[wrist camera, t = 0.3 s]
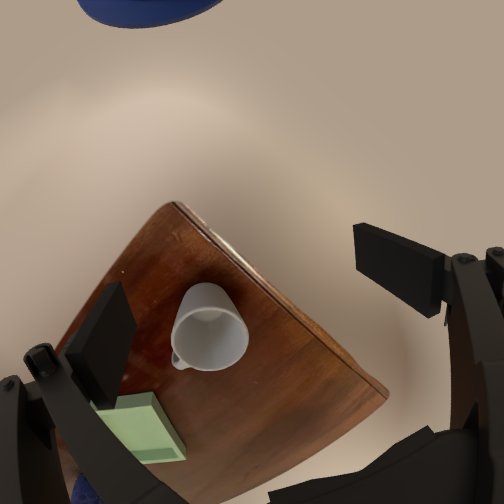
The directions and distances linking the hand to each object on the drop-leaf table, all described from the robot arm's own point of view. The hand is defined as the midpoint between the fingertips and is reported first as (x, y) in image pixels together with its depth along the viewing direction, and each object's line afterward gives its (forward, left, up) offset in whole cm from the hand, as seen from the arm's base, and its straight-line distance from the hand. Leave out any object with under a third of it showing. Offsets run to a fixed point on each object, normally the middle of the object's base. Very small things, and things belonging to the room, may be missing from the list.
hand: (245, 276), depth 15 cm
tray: (+30, -22, -18) cm, 41 cm away
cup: (+11, -5, -19) cm, 22 cm away
